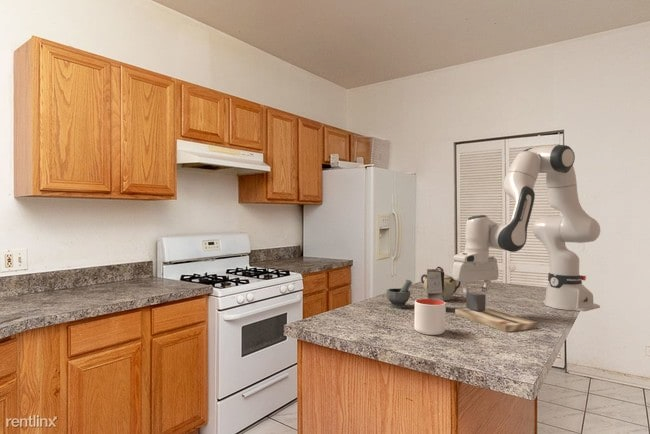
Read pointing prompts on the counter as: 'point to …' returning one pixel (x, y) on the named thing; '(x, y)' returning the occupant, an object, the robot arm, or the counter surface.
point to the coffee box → (435, 284)
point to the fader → (475, 301)
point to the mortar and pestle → (399, 295)
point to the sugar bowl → (445, 285)
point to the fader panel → (496, 319)
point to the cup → (430, 316)
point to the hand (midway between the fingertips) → (475, 292)
